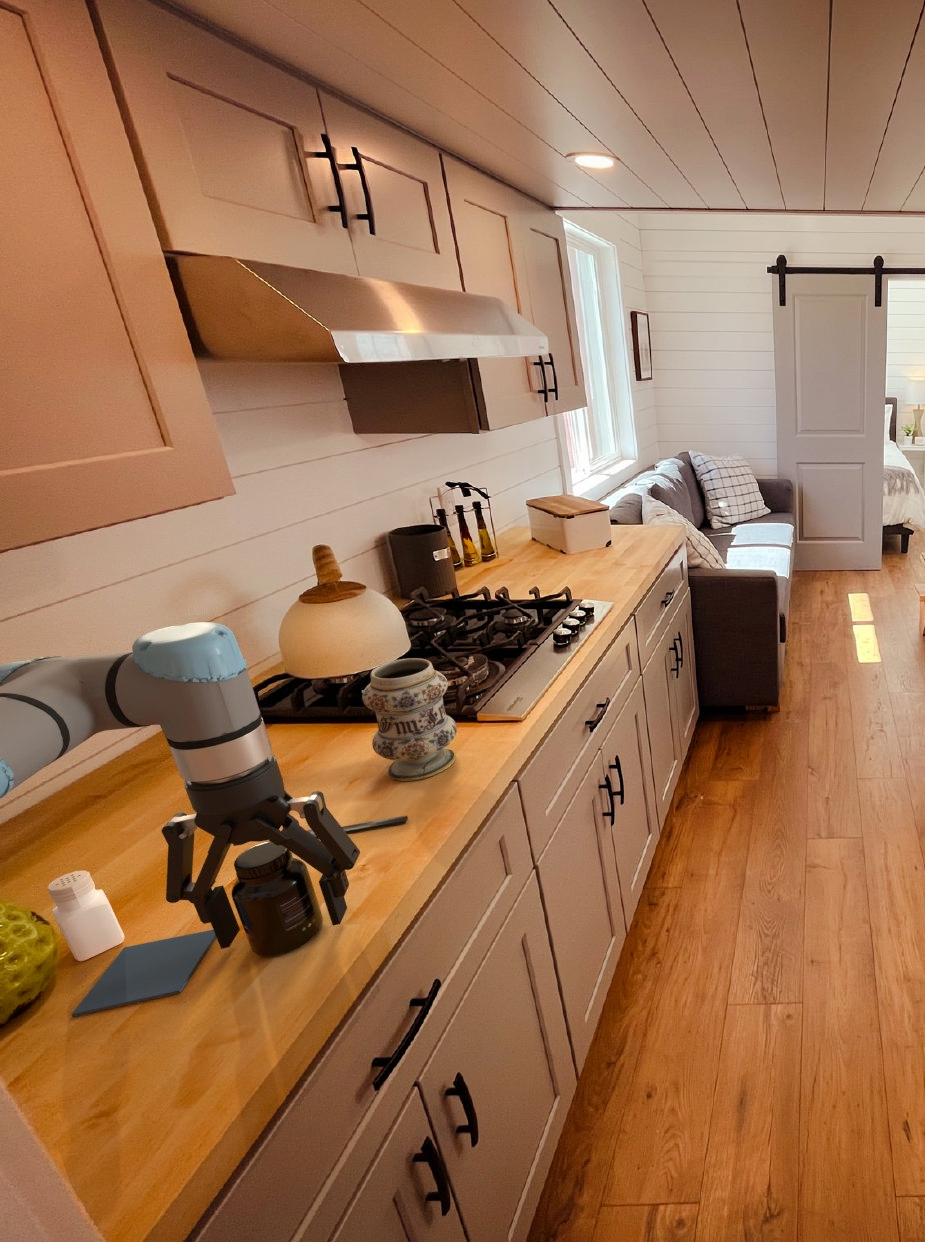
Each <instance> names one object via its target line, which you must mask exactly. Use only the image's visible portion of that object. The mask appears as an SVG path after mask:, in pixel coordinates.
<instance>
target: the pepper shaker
mask: <svg viewBox="0 0 925 1242" xmlns="http://www.w3.org/2000/svg"><path fill="white" fill-rule="evenodd" d="M93 880H94V879H93V878H92V876H91V873H90V871H87V870H76V871H72V872H68V873H65V874H63V875H61V876H59V877H57V878H55V879H54V880H53V881H51V882H50V883H48V884H47V885H48V886H47V887H46V890H47V892H48V894H49V896H50V898H51V900H52V902H53V904H55V905H56V906H55V907H54V908H53V909H51V913H52V915H53V917H54V919H55V921H56V923H57V926H58V927H59V929H60V932H61V933H62V935H63V938H64V940H65V942H66V943H67V945H68V947H69V950H70V952H71V954H72V956H73V957H74V959H75V960H76V961H78V962H84V961H86V960H89V959H91V958H93V957H96V956H97V955H100V954H101V953H103V952H106V951H108V950H111V949H112V948H115V947H116V946H119V945H120V944H122V943H123V942H124V941H125V937H126V936H125V934H124V932H123V929H122V927H121V925H120V923H119V921H118V919H117V917H116V914H115V912H114V910H113V908H112V905H111V903H110V901H109V899H108V897H107V896H106V894H105V892H104V890H103V889H101V888H100V889H96V885H95V883H94V881H93Z"/></svg>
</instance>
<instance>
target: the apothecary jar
mask: <svg viewBox="0 0 925 1242" xmlns="http://www.w3.org/2000/svg"><path fill="white" fill-rule="evenodd" d="M448 686H449V682H448V679H447V678H446V676H445V675H444V674H442V673H441V672H440V671H438V670H435V668H434V665H433V664H432V662H431V661H429V660H428V659H424V658H417V657H414V658H413V657H411V658H409V657H408V658H402V659H395V660H391V661H388V662H385V663H382V664H380V665H378V666H376V667H374V668H373V669H372V670H371V671H370V683H368V685H366V687H365V688H364V690H363V691H362V696H361V699H362V702H363V704H364V706H365V707H366V708H367V709H369V710H372V711H374V713H375V717H376V723H377V728H378V729H377V730H376V732H375V734H374V735H373V738H372V742H371V746H372V749H373V751H374V753H375V754H376V755H377V756H379V757H380V758H384V759H387V760H389V761H393V762H392V764H391V765H390V766H389V768H388V770H387V774H388V776H389V777H390V779H392V780H395V781H399V782H411V781H413V782H414V781H420V780H425V779H427V778H430V777H433V776H436V775H438V774H440V773H442V772H444V771H445V770H447V769H449V768H450V767H451V766H452V765H453V764H454V762H455V761H456V757H457V756H456V753H455V752H454V750H452V749H448V748H447V747H448V746H449V745H450V744H451V743H452V742H453V741H454V739H455V737H456V736H457V732H458V726H457V725H458V724H457V723H456V721H455V720H454V719H453V718H452V717H451V716H450V715H448V714H447V712H446V709H445V704H444V699H443V696H444V695H445V694H446V692H447V690H448Z"/></svg>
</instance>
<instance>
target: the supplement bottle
mask: <svg viewBox="0 0 925 1242" xmlns="http://www.w3.org/2000/svg"><path fill="white" fill-rule="evenodd" d="M233 867H234V870H235V875H236V878H237V880H236V881H235V883H234V884H233V886H232V889H231V898H232V901H233V904H234V906H235V909H236V913H237V915H238V917H239V920H240V922H241V925H242V928H243V930H244V934H245V937H246V939H247V942H248V944H249V946H250V949H251V950H252V952H253V953H254V954H256V955H258V956H260V957H264V958H265V957H266V958H269V957H270V958H273V957H279V956H284V955H286V954H289V953H292V952H294V951H296V950H298V949H300V948H301V947H304V946H305V945H306V944H308V943H309V942H310V941H312V939H313V938H315V937H316V936H317V935H318V933H319V932H320V931H321V929H322V927H323V923H324V917H323V913H322V910H321V907H320V904H319V900H318V898H317V893H316V892H315V888H314V885H313V882H312V878H311V875H310V871H309V869H308V867H307V865H306V862H305V861H303V860H302V859H300V858H296V857H293V853H292V852H291V851H289V850H288V849H287V848H285V847H284V846H282V845H279V846H278V845H275V844H274V843H272V842H271V841H270V842H269V841H267V842H266V841H264V842H261V843H259V844H256V845H253V846H252V847H249V848H247V849H246V850H244V851H243V852H241V853H240V854H239V855H238V856H237V857H236V858H235V860H234V863H233Z"/></svg>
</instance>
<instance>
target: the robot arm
mask: <svg viewBox="0 0 925 1242" xmlns="http://www.w3.org/2000/svg"><path fill="white" fill-rule="evenodd" d="M131 650H132V652H117V653H104V654H103V653H102V654H90V655H89V654H88V655H87V654H86V655H72V656H59V655H54V656H42V657H37V658H34V659H27V660H21V661H12V662H7V663H3V664H1V665H0V801H1V800H2V799H3V798H4V797H6V796H7V795H8V794H9V793H10V792H11V791H13V790H14V789H16V788H18V787H19V786H20V785H21V784H23V783H24V782H26V781H27V780H28V779H30V778H32V777H33V776H35V775H36V774H37V773H39V772H40V771H41V770H43V769H44V768H45V767H48V766H50V765H51V764H52V763H54V762H56V761H57V760H59V759H60V758H62V757H63V756H65V755H67V754H68V753H69V752H71V751H72V750H74V749H75V748H77V747H79V746H80V745H81V744H82V743H85V742H87V740H89V739H90V738H92V737H93V736H95V735H96V734H98V733H102V732H105V731H114V730H125V729H133V728H145V727H150V726H160V728H161V730H162V732H163V735H164V737H165V739H166V741H167V745H168V747H169V749H170V752H171V755H172V758H173V760H174V763H175V766H176V768H177V771H178V774H179V777H180V778H181V779H183V780H184V781H183V786H184V790H185V792H186V794H187V797H188V800H189V802H190V805H191V807H192V810H193V811H194V812H195V813H193V814H189V815H188V814H187V813H185V812H176V813H175V814H174V815H173V816H172V817H171V818H170V820H169V821H168V822H167V823H166V824H165V825H164V826H163V827H162V828H161V834H162V836H163V838H164V840H165V841H166V843H167V863H166V864H167V865H166V887H165V888H166V889H165V890H166V891H165V900H166V902H167V903H170V904H176V903H178V902H180V901H188V902H189V903H190V904H193V906H194V908H195V910H196V913H197V916H198V918H199V920H200V922H201V923H202V924H210V925H211V927H212V930H214V932H215V935H216V940H217V942H218V944H219V947H220V949H221V950H223V949H227V948H230V947H231V945H232V944H233V942H234V941H235V939H236V937H237V935H238V934H239V932H240V931H241V928H240V926H239V923H238V920H237V918H236V914H235V912H234V910H233V908H232V907H233V906H232V905H231V902H230V900H229V899H230V898H229V897H228V894H227V892H226V888H225V886H224V885H217V886H214V885H215V884H216V882H217V877H218V875H219V873H220V870H221V869H222V866H223V864H224V862H225V860H226V857H227V855H228V852H229V850H230V848H231V846H232V845H233V847H237V846H243V845H246V844H248V843H251V842H255V843H256V842H257V843H260V842H266V841H268V842H269V841H271V842H272V843H274V844H275V845H278V846H279V845H282V846H284V847H285V848H287V849H288V850H289V851H290V852H291V853H292V854H294V855H295V856H296V857H298V859H300V860H301V861H302V862H304V863H305V864H308V865H309V866H310V867H312V868H313V869H315V870H316V871H317V872H319V873H320V874H322V875H321V876H320V878H319V880H318V884H319V888H320V890H321V894H322V897H323V900H324V904H325V906H326V909H327V912H328V916H329V919H330V922H331V924H332V926H337V925H341V923H342V920H343V919H344V916H345V915H346V912H347V909H348V905H347V902H346V899H345V896H346V894H347V891H348V889H349V887H350V882H349V879H348V875H347V872H346V871H349V870H353V868H354V867H355V865H356V863H357V861H358V859H359V857H360V854H361V850H360V849H359V848H358V846H357V845H356V843H355V842H354V841H353V840H352V839H351V837H350V836H349V834H347V833H346V832H345V831H344V830H343V828H342V825H341V824H340V823H339V822H338V820H337V819H336V818H335V816H334V815H333V814H332V812H331V811H330V810H329V809H328V807H327V804H326V799H325V795H324V793H323V792H322V791H319V790H315V791H312V793H311V794H310V796H303V797H293V796H291V795H290V794H289V793H288V792H287V791H286V789H285V785H284V783H285V782H284V779H283V775H282V772H281V770H280V767H279V763H278V761H277V757H276V755H275V754H273V746H272V743H271V739H270V737H269V734H268V730H267V728H266V725H265V722H264V719H263V716H262V713H261V710H260V708H259V704H258V701H257V698H256V694H255V690H254V688H253V685H252V681H251V678H250V675H249V671H248V665H249V664H248V661H247V660H246V658H245V657H244V656H243V653H242V651H241V648H240V646H239V642H238V641H237V639H236V636H235V634H234V632H233V631H232V630H231V628H229V627H228V626H227V625H225V624H222V623H218V622H211V621H198V622H197V621H196V622H188V623H185V624H180V625H169V626H165V627H162V628H158V629H155V630H152V631H149V632H146V633H144V634H142V635H141V636H139V637H137V638H136V639H135V640H134V642H133V644H132V646H131ZM291 811H294V812H297V814H298V815H299V819H305V821H306V824H307V826H308V828H309V829H310V830H311V829H312V831H313V832H314V833H315V834H316V836H317V837H318V839H317V838H316V837H314V836H313V835H312V834H310V833H309V832H308V831H306V830H307V829H305V828H304V827H302V826H301V825H300V822H299V820H298V819H297V818H295V817H294V816H292V815H291ZM281 827H282V829H281ZM198 829H200V830H202V831H203V832H206V833H208V834H209V835H211V836H213V840H212V841H211V843H210V846H209V849H208V851H207V856H206V858H205V860H204V862H203V865H202V867H201V869H200V871H199V874H198V876H197V878H196V881H195V882H193V870H194V869H193V868H194V867H193V866H194V852H195V851H194V849H195V832H196V831H197V830H198ZM280 829H281V830H280ZM212 887H214V888H212Z"/></svg>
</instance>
